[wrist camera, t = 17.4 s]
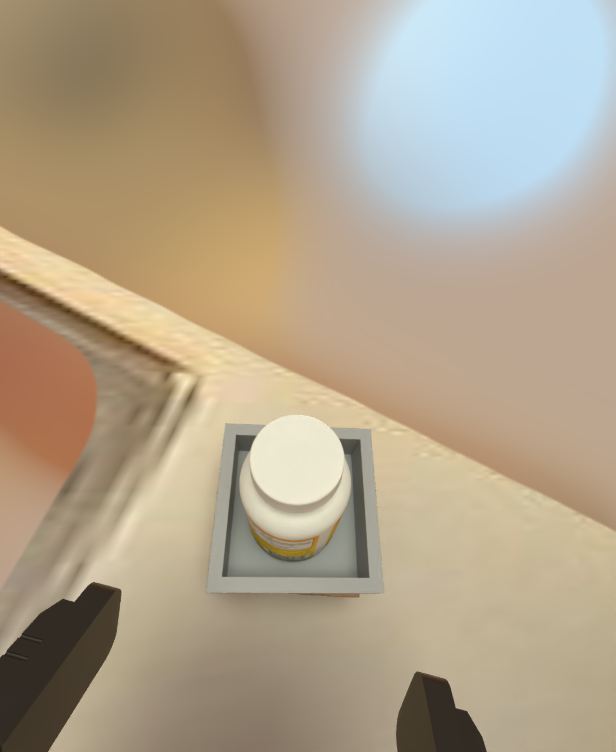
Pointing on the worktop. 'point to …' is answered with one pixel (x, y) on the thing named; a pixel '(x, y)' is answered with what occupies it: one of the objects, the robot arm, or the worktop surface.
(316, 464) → the supplement bottle
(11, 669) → the robot arm
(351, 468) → the tower top
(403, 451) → the worktop surface
